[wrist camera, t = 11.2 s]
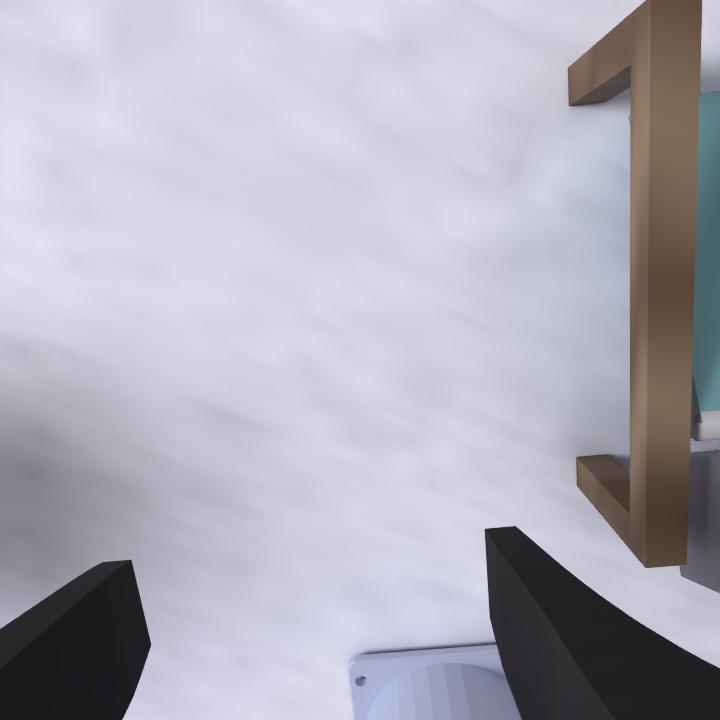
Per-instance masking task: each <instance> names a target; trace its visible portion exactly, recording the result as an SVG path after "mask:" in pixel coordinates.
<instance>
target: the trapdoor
mask: <svg viewBox="0 0 720 720" xmlns="http://www.w3.org/2000/svg"><path fill="white" fill-rule="evenodd" d="M629 121H630V127H631V114H630V115H629ZM690 436H691V437H692V438H693V439H694V440H696V441H703V440H714V439H720V92H712V93H703V94H700V100H699V136H698V173H697V210H696V247H695V283H694V320H693V357H692V393H691V430H690ZM679 566H680V571H681V576H682V577H684V578H687V579H689V580H691V581H693V582H696V583H698V584H700V585H702V586H705V587H707V588H709V589H712V590H714V591H716V592H718V593H720V450H717V451H706V452H695V453H690V467H689V503H688V540H687V565H679Z"/></svg>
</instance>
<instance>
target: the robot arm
mask: <svg viewBox="0 0 720 720" xmlns="http://www.w3.org/2000/svg"><path fill="white" fill-rule="evenodd" d="M485 542H486V559H487V577H488V594H489V611H490V620H491V624H492V628H493V632H494V636H495V640H496V644H497V645H483V646H470V647H457V648H444V649H431V650H418V651H404V652H391V653H378V654H365V655H357V656H354V657H352V658H351V659H350V661H349V665H348V674H349V682H350V689H351V697H352V705H353V712H354V720H720V668H718V667H716V666H714V665H712V664H710V663H708V662H706V661H704V660H702V659H701V658H699V657H697V656H695V655H693V654H691V653H690V652H688V651H686V650H684V649H682V648H681V647H679V646H677V645H676V644H674V643H672V642H671V641H669V640H667V639H666V638H664V637H662V636H661V635H659V634H657V633H656V632H654V631H652V630H651V629H649V628H647V627H646V626H644V625H643V624H641V623H639V622H638V621H636V620H635V619H633V618H632V617H630V616H629V615H627V614H626V613H624V612H623V611H622V610H620V609H619V608H617V607H616V606H614V605H613V604H612V603H610V602H609V601H607V600H606V599H604V598H603V597H602V596H600V595H599V594H597V593H596V592H595V591H593V590H592V589H591V588H589V587H588V586H587V585H585V584H584V583H583V582H582V581H580V580H579V579H578V578H576V577H575V576H574V575H573V574H571V573H570V572H569V571H568V570H566V569H565V568H564V567H563V566H562V565H560V564H559V563H558V562H557V561H556V560H554V559H553V558H552V557H551V556H550V555H549V554H547V553H546V552H545V551H544V550H543V549H542V548H540V547H539V546H538V545H537V544H536V543H535V542H534V541H532V540H531V539H530V538H529V537H528V536H527V535H525V534H524V533H523V532H522V531H521V530H520V529H518V528H517V527H516V526H512V527H500V528H489V529H485ZM150 647H151V642H150V638H149V633H148V629H147V625H146V620H145V616H144V612H143V608H142V603H141V599H140V595H139V590H138V586H137V582H136V578H135V573H134V569H133V565H132V560H123V561H112V562H102V563H100V564H98V565H97V566H95V567H93V568H91V569H90V570H88V571H86V572H85V573H83V574H82V575H80V576H78V577H77V578H75V579H74V580H72V581H71V582H69V583H68V584H66V585H65V586H63V587H62V588H60V589H59V590H57V591H56V592H54V593H53V594H51V595H50V596H48V597H47V598H45V599H44V600H43V601H41V602H40V603H38V604H37V605H35V606H34V607H32V608H31V609H29V610H28V611H26V612H25V613H23V614H22V615H20V616H19V617H17V618H16V619H14V620H13V621H12V622H10V623H9V624H7V625H6V626H4V627H3V628H1V629H0V720H122V719H123V717H124V715H125V713H126V711H127V709H128V707H129V705H130V702H131V700H132V698H133V696H134V693H135V691H136V688H137V685H138V682H139V680H140V677H141V674H142V671H143V668H144V665H145V662H146V659H147V656H148V653H149V650H150ZM359 676H364V677H365V678H364V679H358V678H357V677H359Z"/></svg>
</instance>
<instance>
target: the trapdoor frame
mask: <svg viewBox="0 0 720 720" xmlns="http://www.w3.org/2000/svg"><path fill="white" fill-rule="evenodd" d="M701 26H702V0H646V1H645V2H644V3H642V4H641V5H640V6H639V7H638V8H637V9H635V10H634V11H633V12H632V13H631V14H630V15H628V16H627V17H626V18H625V19H624V20H623V21H622V22H620V23H619V24H618V25H617V26H616V27H615V28H613V29H612V30H611V31H610V32H609V33H608V34H607V35H605V36H604V37H603V38H602V39H601V40H600V41H598V42H597V43H596V44H595V45H594V46H593V47H592V48H590V49H589V50H588V51H587V52H586V53H585V54H583V55H582V56H581V57H580V58H579V59H578V60H577V61H575V62H574V63H573V64H572V65H571V66H570V67H568V86H569V106H574V105H583V104H592V103H600V102H605V101H607V100H609V99H611V98H612V97H614V96H616V95H617V94H619V93H621V92H623V91H624V90H626V89H628V88H629V87H631V195H630V475H629V474H628V473H627V472H626V471H625V470H624V469H623V468H622V467H621V466H620V465H618V464H617V463H616V462H615V461H614V460H613V459H612V458H611V457H610V456H609V455H608V454H607V455H596V456H585V457H576V464H577V486H578V487H579V489H580V490H581V491H582V492H583V493H584V495H585V496H586V497H587V498H588V499H589V501H590V502H591V503H592V504H593V505H594V507H595V508H596V509H597V510H598V511H599V513H600V514H601V515H602V516H603V517H604V519H605V520H606V521H607V522H608V523H609V525H610V526H611V527H612V528H613V529H614V531H615V532H616V533H617V534H618V535H619V537H620V538H621V539H622V540H623V542H624V543H625V544H626V545H627V546H628V548H629V549H630V550H631V551H632V552H633V554H634V555H635V556H636V557H637V558H638V560H639V561H640V562H641V563H642V564H643V566H644V567H645V568H652V567H664V566H677V565H687V540H688V503H689V467H690V430H691V393H692V357H693V320H694V283H695V247H696V210H697V173H698V136H699V100H700V63H701Z"/></svg>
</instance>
